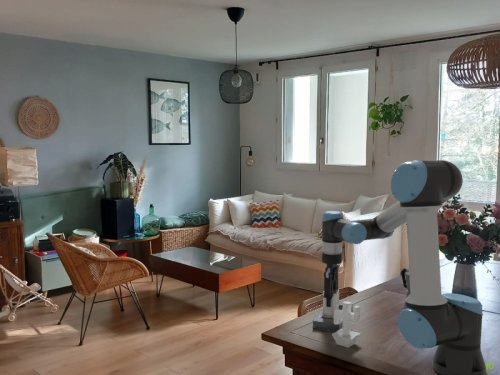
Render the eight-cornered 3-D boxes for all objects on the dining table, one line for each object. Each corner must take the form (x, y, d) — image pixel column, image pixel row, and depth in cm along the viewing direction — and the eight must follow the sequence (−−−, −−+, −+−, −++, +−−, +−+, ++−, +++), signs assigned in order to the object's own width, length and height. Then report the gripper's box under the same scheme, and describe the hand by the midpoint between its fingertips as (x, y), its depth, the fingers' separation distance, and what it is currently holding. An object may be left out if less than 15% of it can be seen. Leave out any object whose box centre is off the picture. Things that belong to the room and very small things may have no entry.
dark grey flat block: (339, 332, 182) (339, 324, 181) (312, 328, 186) (312, 320, 185) (352, 311, 204) (353, 304, 203) (329, 308, 208) (329, 301, 207)
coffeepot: (436, 312, 203) (437, 269, 201) (418, 316, 199) (420, 272, 197) (408, 301, 217) (410, 260, 215) (392, 304, 212) (393, 263, 211)
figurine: (339, 337, 178) (339, 296, 176) (363, 344, 172) (364, 302, 170) (328, 343, 172) (329, 301, 170) (353, 351, 166) (354, 307, 164)
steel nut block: (335, 327, 187) (336, 293, 186) (322, 325, 189) (323, 292, 188) (338, 322, 191) (339, 289, 190) (325, 320, 193) (326, 288, 192)
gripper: (328, 246, 197) (327, 303, 199) (315, 256, 181) (314, 318, 183) (347, 248, 194) (345, 306, 196) (336, 258, 178) (334, 321, 180)
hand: (330, 311), depth 190 cm, fingers closed on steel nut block, 5 cm apart
